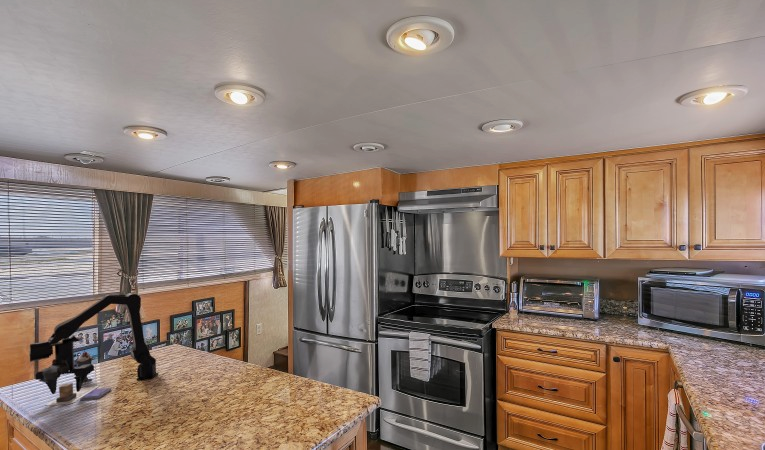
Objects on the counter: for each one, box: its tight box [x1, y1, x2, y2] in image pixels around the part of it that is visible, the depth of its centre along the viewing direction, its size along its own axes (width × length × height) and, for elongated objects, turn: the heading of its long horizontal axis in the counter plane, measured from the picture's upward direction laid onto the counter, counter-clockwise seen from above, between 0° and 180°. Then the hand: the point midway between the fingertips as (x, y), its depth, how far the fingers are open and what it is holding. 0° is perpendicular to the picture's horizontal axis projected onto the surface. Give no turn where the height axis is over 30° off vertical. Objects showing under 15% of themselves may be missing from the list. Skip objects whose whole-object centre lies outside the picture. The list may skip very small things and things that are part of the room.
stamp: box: [56, 382, 76, 403], centre depth 148 cm, size 4×4×6 cm
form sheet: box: [44, 385, 100, 407], centre depth 152 cm, size 10×16×1 cm, turn 6°
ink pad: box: [79, 387, 112, 401], centre depth 151 cm, size 7×8×1 cm
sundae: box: [74, 349, 95, 384], centre depth 167 cm, size 7×7×15 cm
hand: (66, 392), depth 148 cm, fingers open, 9 cm apart
